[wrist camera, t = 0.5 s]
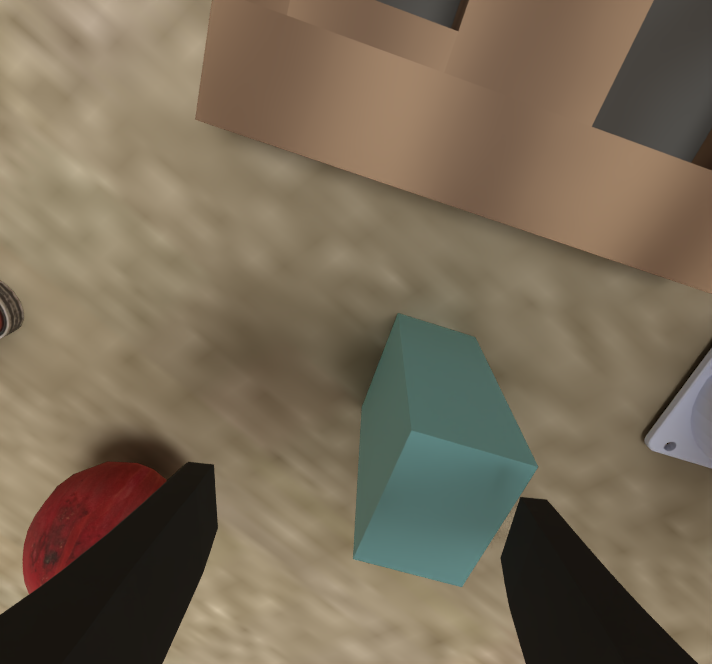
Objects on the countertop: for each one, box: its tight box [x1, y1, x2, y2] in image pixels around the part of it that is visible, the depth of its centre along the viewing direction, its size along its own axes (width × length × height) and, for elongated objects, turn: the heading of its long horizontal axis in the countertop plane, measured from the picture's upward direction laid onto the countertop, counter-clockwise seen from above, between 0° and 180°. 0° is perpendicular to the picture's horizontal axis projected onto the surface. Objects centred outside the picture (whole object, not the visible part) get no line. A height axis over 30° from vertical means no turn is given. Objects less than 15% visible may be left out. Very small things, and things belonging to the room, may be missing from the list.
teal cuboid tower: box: [353, 313, 538, 587], centre depth 16 cm, size 4×5×8 cm
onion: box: [23, 462, 166, 594], centre depth 19 cm, size 6×6×8 cm
